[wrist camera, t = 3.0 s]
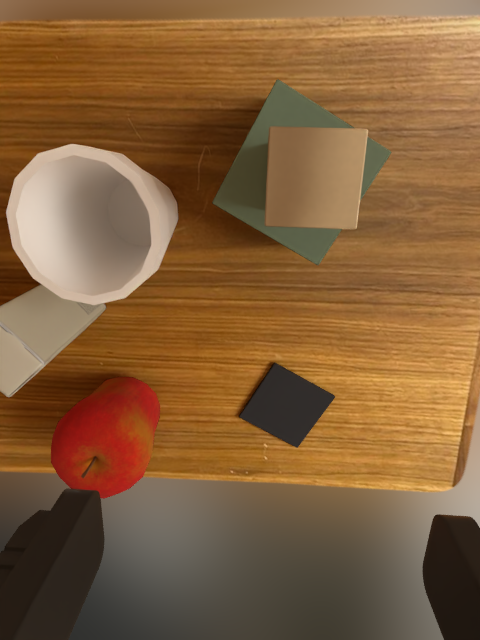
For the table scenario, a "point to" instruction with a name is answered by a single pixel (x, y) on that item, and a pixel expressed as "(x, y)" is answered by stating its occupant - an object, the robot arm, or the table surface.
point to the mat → (286, 405)
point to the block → (314, 177)
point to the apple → (107, 437)
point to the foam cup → (89, 222)
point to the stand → (251, 170)
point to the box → (38, 333)
